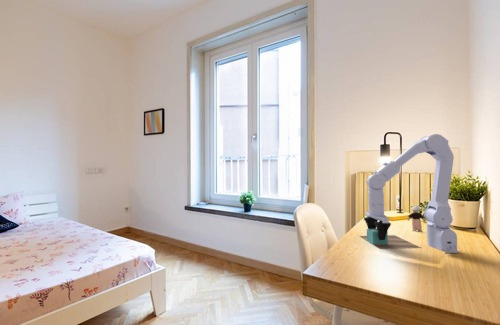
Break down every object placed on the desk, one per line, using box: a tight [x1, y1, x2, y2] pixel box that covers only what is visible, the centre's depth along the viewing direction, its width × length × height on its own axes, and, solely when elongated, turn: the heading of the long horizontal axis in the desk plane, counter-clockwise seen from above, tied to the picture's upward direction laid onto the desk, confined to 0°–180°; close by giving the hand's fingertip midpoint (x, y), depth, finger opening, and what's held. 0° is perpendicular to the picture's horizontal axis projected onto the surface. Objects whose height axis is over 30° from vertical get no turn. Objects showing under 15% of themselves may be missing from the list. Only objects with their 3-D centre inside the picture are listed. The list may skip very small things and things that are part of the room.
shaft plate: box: [359, 234, 422, 250], centre depth 108 cm, size 18×16×4 cm
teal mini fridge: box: [366, 228, 389, 246], centre depth 107 cm, size 5×6×5 cm
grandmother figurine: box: [406, 205, 427, 233], centre depth 127 cm, size 8×4×13 cm, turn 84°
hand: (377, 237), depth 107 cm, fingers open, 7 cm apart
